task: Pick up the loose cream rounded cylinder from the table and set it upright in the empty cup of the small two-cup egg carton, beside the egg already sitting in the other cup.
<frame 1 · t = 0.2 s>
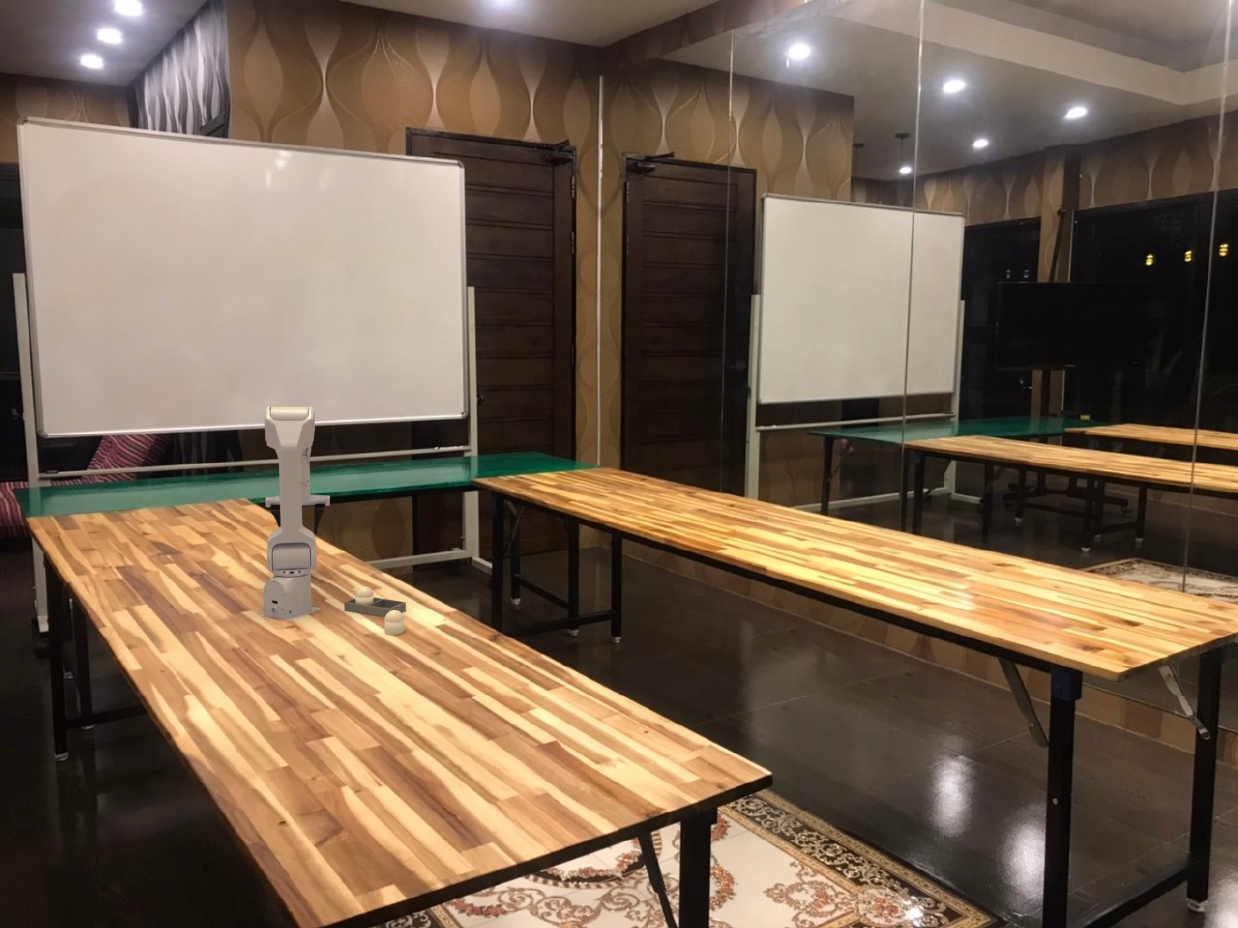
hand: (299, 533, 227), 10 cm above the table, tool pointing down, fingers open, 7 cm apart
cream rounded cylinder: (394, 633, 187), on the table
egg carton: (375, 612, 200), on the table
carton egg: (364, 608, 201), resting on egg carton
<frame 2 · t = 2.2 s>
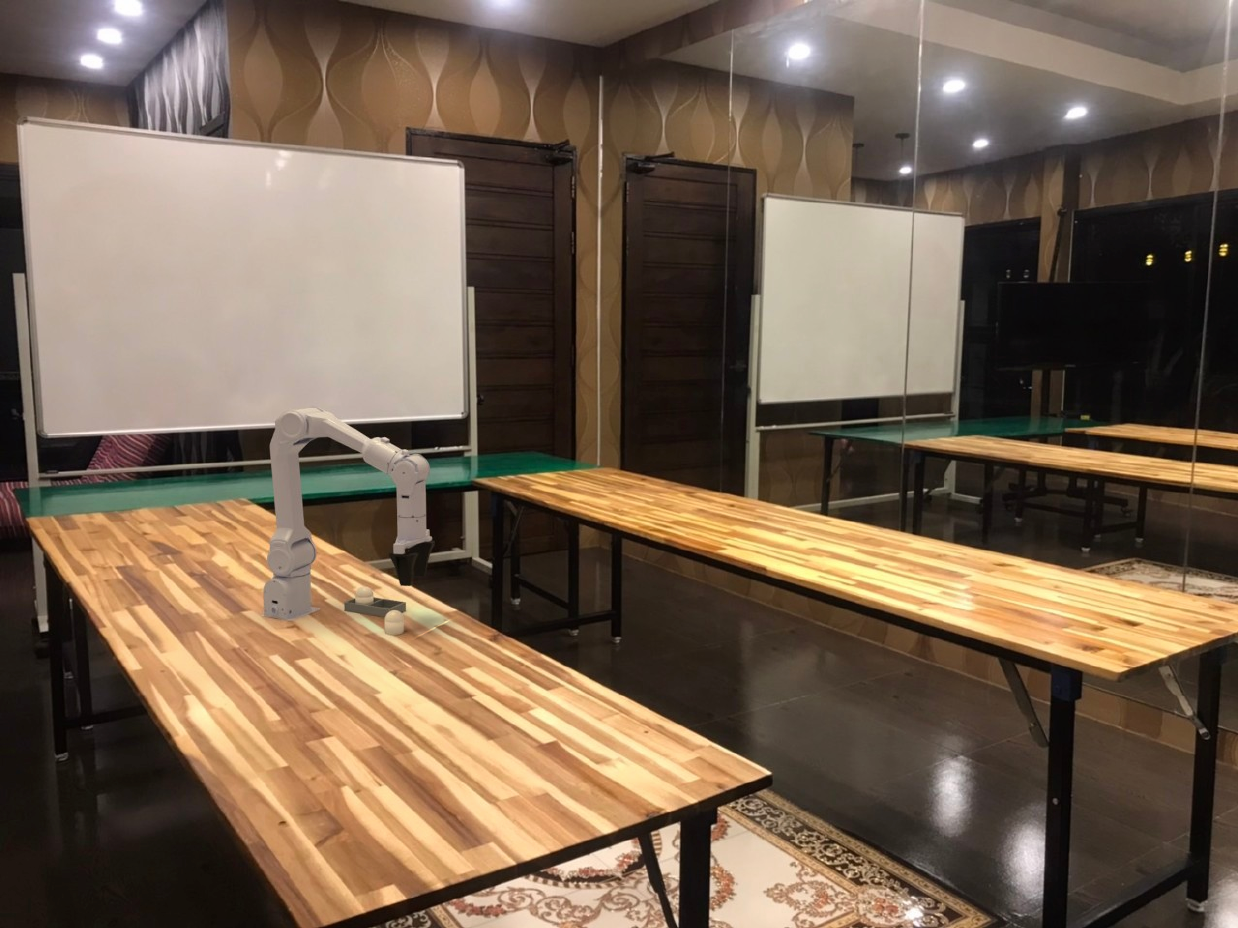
hand: (412, 580, 191), 9 cm above the table, tool pointing down, fingers open, 7 cm apart
nothing on the table moved.
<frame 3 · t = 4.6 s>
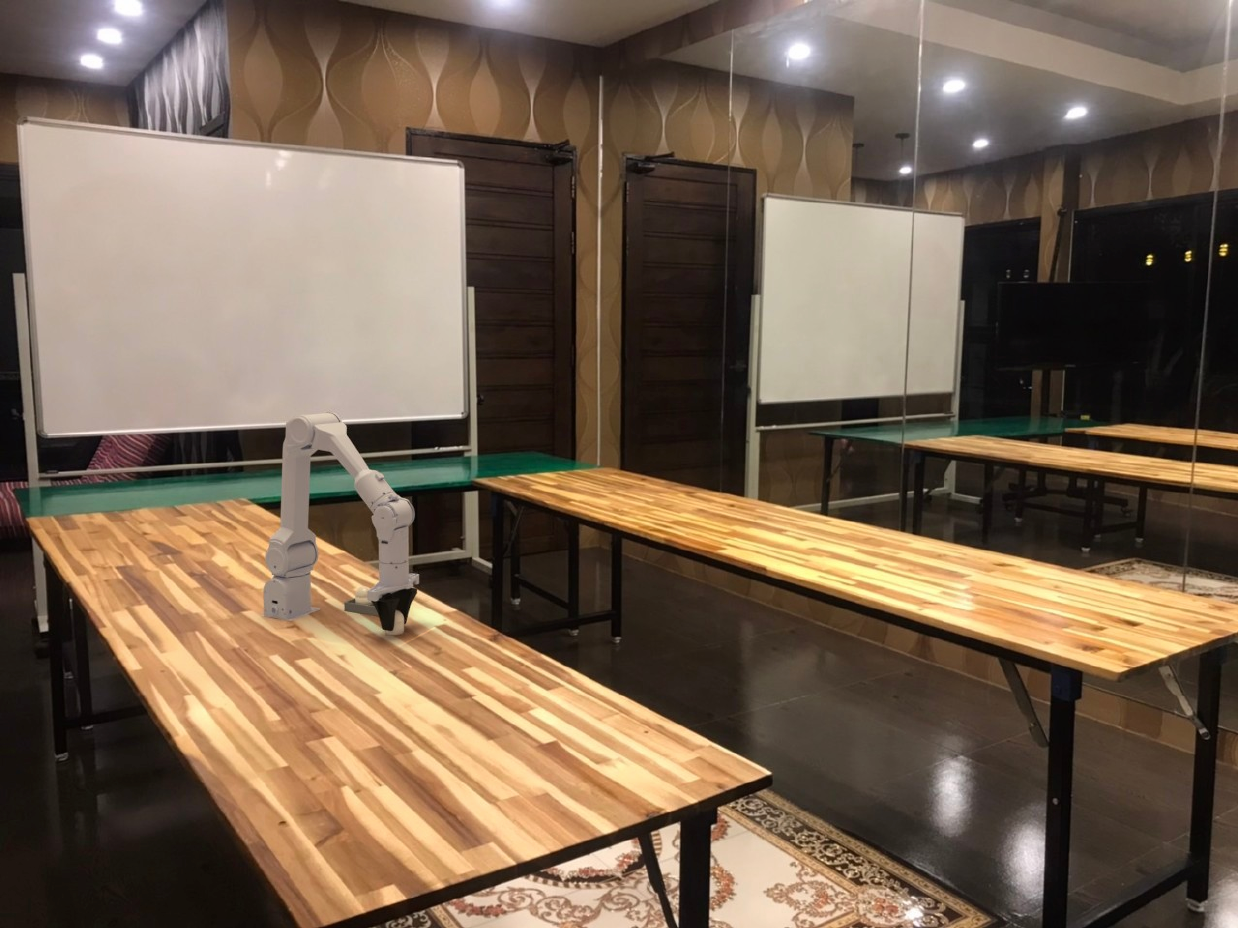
hand: (394, 626, 186), 1 cm above the table, tool pointing down, fingers closed on cream rounded cylinder, 4 cm apart
cream rounded cylinder: (394, 633, 187), on the table, touching gripper
everything else where it was.
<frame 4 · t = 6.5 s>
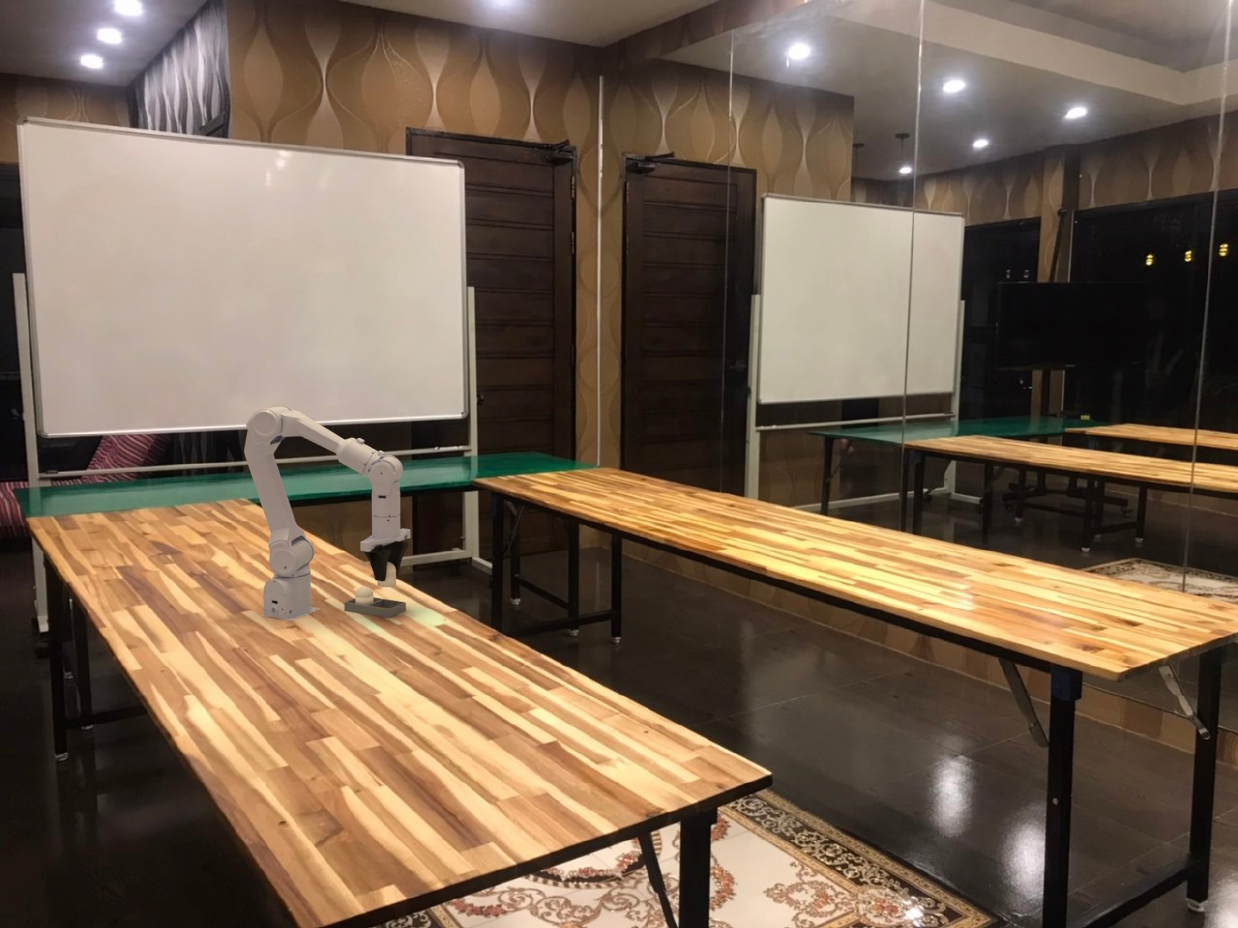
hand: (386, 578, 196), 8 cm above the table, tool pointing down, fingers closed on cream rounded cylinder, 4 cm apart
cream rounded cylinder: (386, 584, 197), point 7 cm above the table, touching gripper
everything else where it was.
when the fingers open (3 cm above the table, at t = 8.5 s): cream rounded cylinder drops 1 cm, resting on egg carton.
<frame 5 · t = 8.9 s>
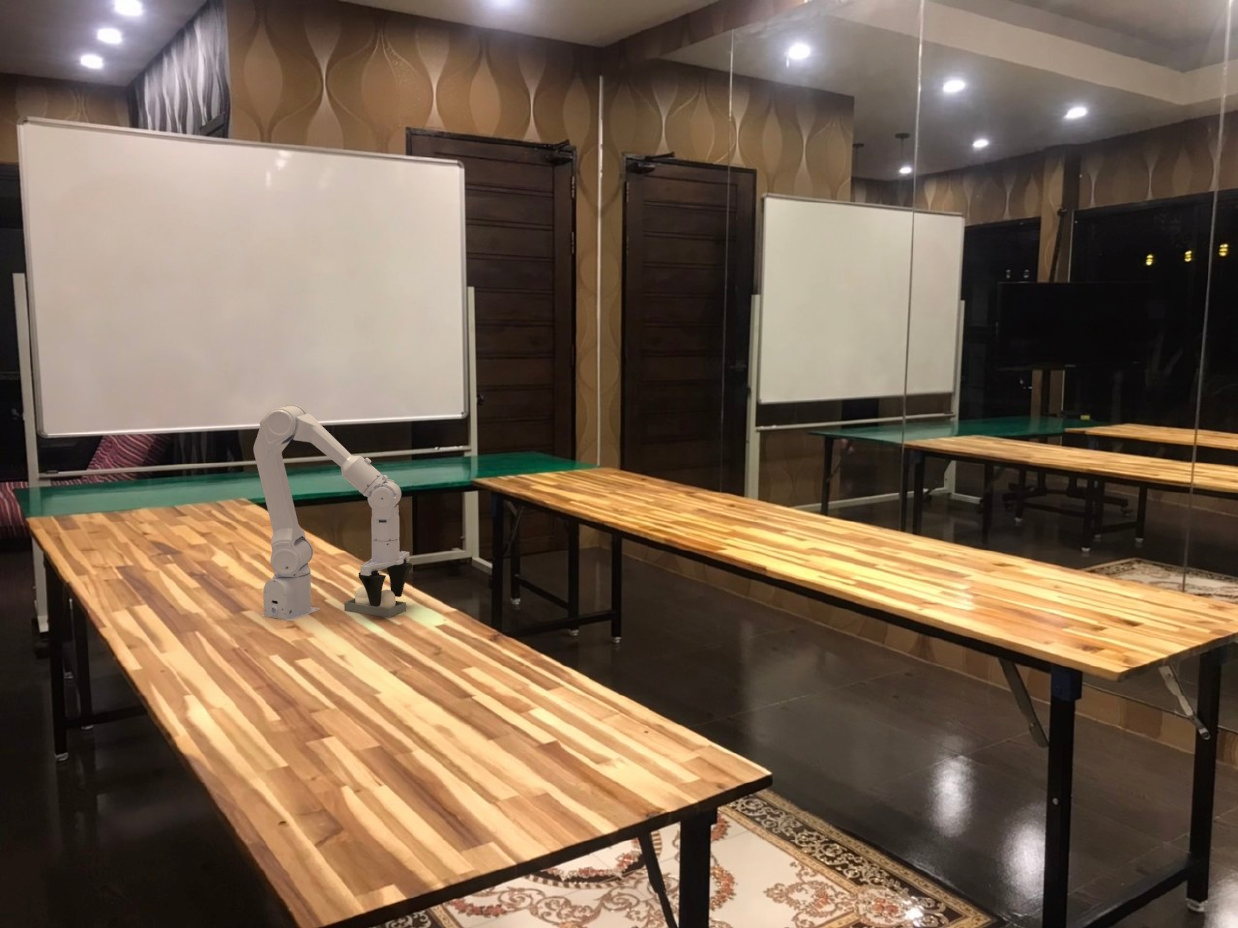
hand: (386, 600, 199), 3 cm above the table, tool pointing down, fingers open, 7 cm apart
cream rounded cylinder: (386, 612, 199), resting on egg carton
everything else where it was.
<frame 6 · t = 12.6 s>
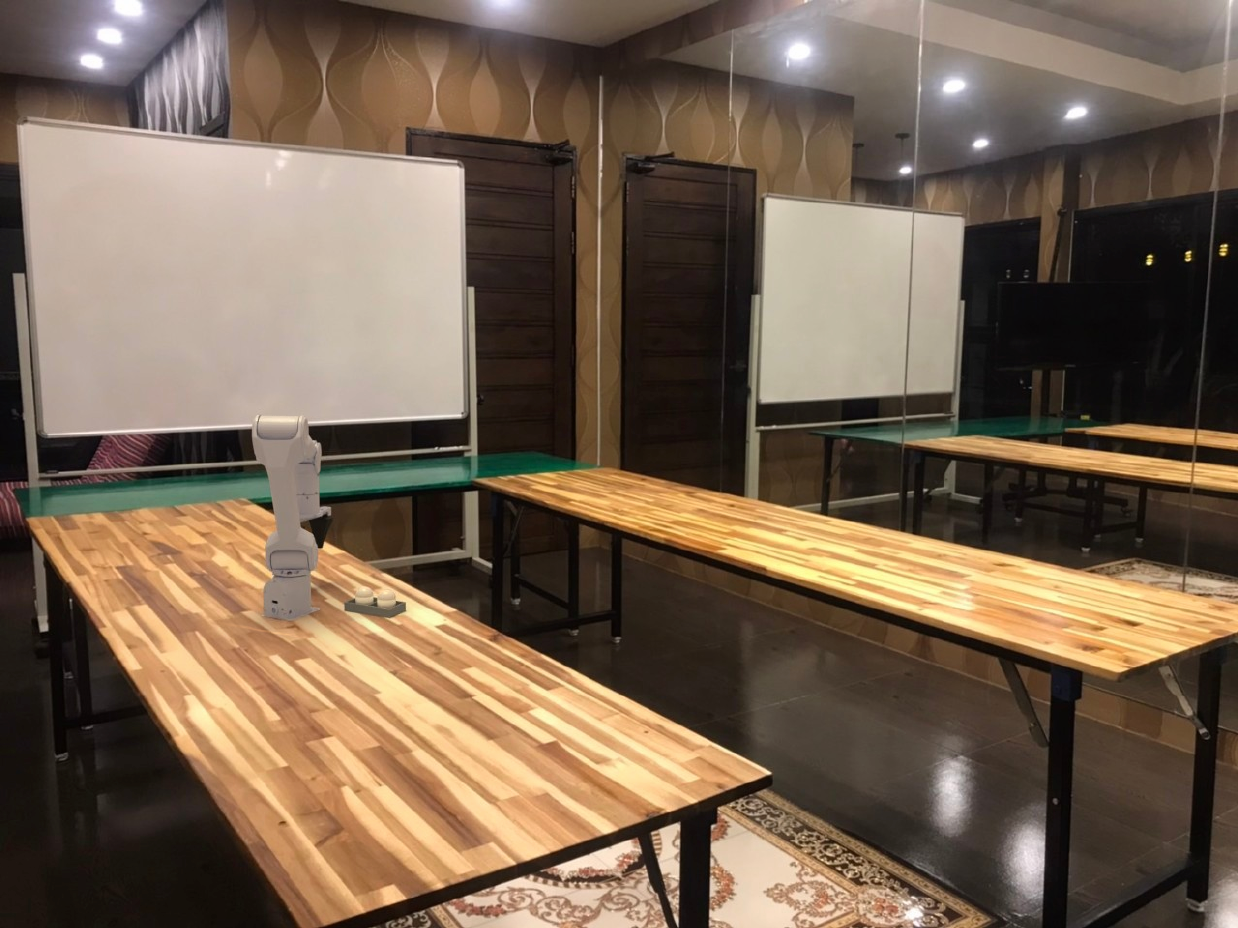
hand: (307, 551, 213), 9 cm above the table, tool pointing down, fingers open, 7 cm apart
nothing on the table moved.
at the end: cream rounded cylinder 0.0 cm from the target spot on the egg carton, point 0.4 cm above the egg carton's base; cream rounded cylinder tilted 2°; the gripper is holding nothing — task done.
